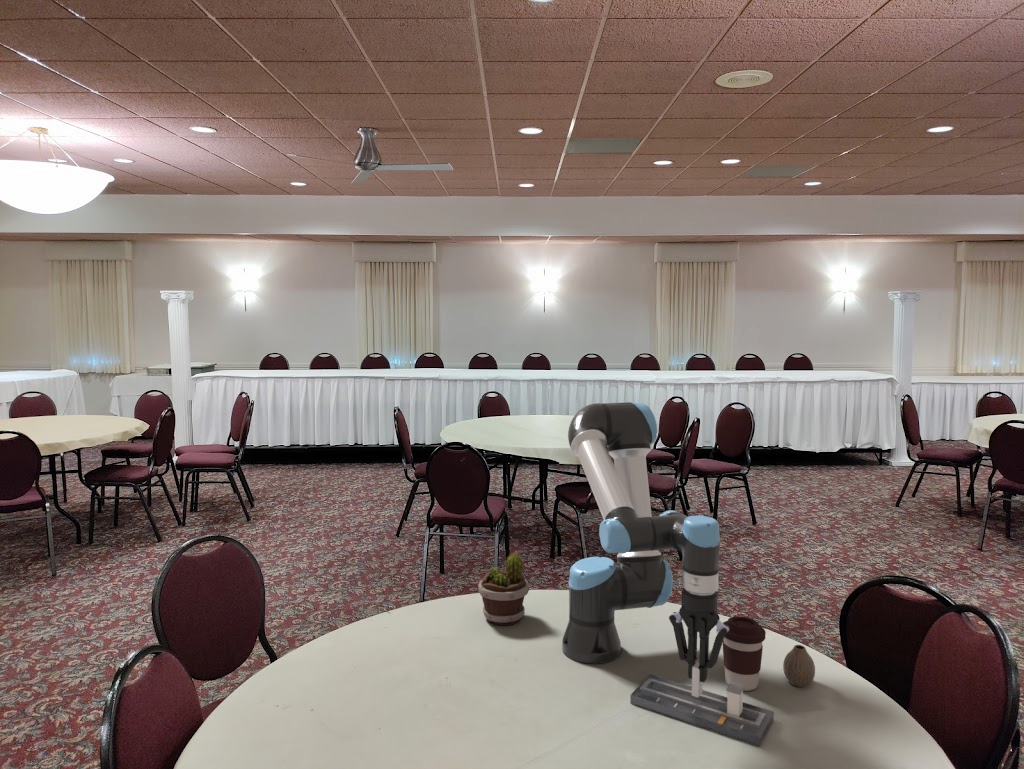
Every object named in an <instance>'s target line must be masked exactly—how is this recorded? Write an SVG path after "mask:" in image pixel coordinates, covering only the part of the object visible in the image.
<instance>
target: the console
mask: <svg viewBox="0 0 1024 769" xmlns="http://www.w3.org/2000/svg"><path fill="white" fill-rule="evenodd" d="M629 697H630V704H631V705H634V706H638V707H640V708H643V709H646V710H650V711H652V712H654V713H658V714H661V715H664V716H667V717H670V718H673V719H676V720H679V721H681V722H682V721H683V722H685V723H688V724H691V725H693V726H697V727H699V728H703V729H707V730H709V731H712V732H714V733H718V734H720V735H722V736H723V735H724V736H727V737H729V738H733V739H736V740H737V741H741V742H744V743H747V744H750V745H753V746H757V747H761V745H762V744H763V742H764V740H765V738H766V736H767V734H768V732H769V730H770V728H771V727H772V725H773V722H774V719H775V718H774V716H775V712H774V711H773V710H770V709H767V708H763V707H760V706H757V705H753V704H750V703H747V702H744V701H743V710H742V713H741V714H740V716H739V717H737V716H734V715H731V714H727V697H728V696H723V695H721V694H717V693H713V692H711V691H708V690H704V689H702V693H701V695H700V696H699V697H695V696H692V685H687V684H686V683H685V684H684V683H681V682H678V681H675V680H672V679H668V678H664V677H663V676H662V677H661V676H658V675H655V674H651V673H649V675H648V676H646V678H644V679H643V681H642V682H641V683H640V684H639V685H638V686H637V687H636V688H635V690H633V691H632V692H631V694H630V696H629Z"/></svg>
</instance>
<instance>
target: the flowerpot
mask: <svg viewBox="0 0 1024 769" xmlns="http://www.w3.org/2000/svg"><path fill="white" fill-rule="evenodd" d="M516 550H517V549H515V550H514V552H513V551H511V553H509V556H507V557H506V559H505V561H504V562H503V563H505V565H506V567H504V568H503V569H504V571H503V569H502V570H501V568H499V567H498V566H496V567H495V566H493V567H492V569H490V571H489V573H488V574H485V575H484V576H483V577H482V579H481V580H480V581H479V582H478V584H477V586H478V587H477V588H478V593H479V594H480V596H481V598H482V602H483V607H482V612H483V616H484V618H486V620H487V622H488V623H494V625H495V626H496V625H497V626H499V625H500V626H508V625H509V626H511V625H514V624H516V623H519V621H520V620H521V618H523V616H524V615H525V610H526V609H525V606H524V605H523V604H524V600H525V596H527V595H528V593H529V591H530V590H531V589H530V586H529V582H528V580H526V578H525V577H524V571H523V570H525V569H526V568H525V561H524V559H523V556H522V555H520V554H519V551H518V552H517V551H516Z"/></svg>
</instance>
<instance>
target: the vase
mask: <svg viewBox="0 0 1024 769" xmlns="http://www.w3.org/2000/svg"><path fill="white" fill-rule="evenodd" d="M782 665H783V666H782V667H783V669H782V670H783V674H784V676H785V678H786V680H787V682H789V683H790V685H792V686H795V687H799V688H805V687H808V686H810V685H811V684H812V683H813V681H814V679H815V676H816V666H815V662H814V660H813V658H812V657H811V655H810V654H809V653H808V651H807V648H806V646H805V645H802V644H795V645H794V646H793V647H792V649H791V650H790V651H788V653H787V654H786V655H785V657H784V660H783V663H782Z"/></svg>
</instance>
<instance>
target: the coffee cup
mask: <svg viewBox="0 0 1024 769" xmlns="http://www.w3.org/2000/svg"><path fill="white" fill-rule="evenodd" d="M722 623H723V624H724V625H729V627H730V629H729V631H728V632H727V633H726V635H725V636H724V639H723V643H722V655H723V656H722V657H723V658H722V659H723V660H722V661H723V666H724V677H725V678H724V679H725V683H726V684H727V686H728V685H729V684H730V683H731V682H734V683H737V684H740V685H744V690H743V692H744V691H745V692H749V691H753V690H755V689H757V687H758V686H759V680H760V679H759V678H760V671H761V667H762V659H763V658H762V657H763V650H764V649H763V648H764V647H763V642H764V641H765V640H766V630H765V628H764V627H763V626H761V625H760V624H759V623H758V621H756V620H755V619H753V618H751V617H748V616H740V615H737V616H731V617H729V618H728V619H727V620H726V621H724V622H722Z"/></svg>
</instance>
